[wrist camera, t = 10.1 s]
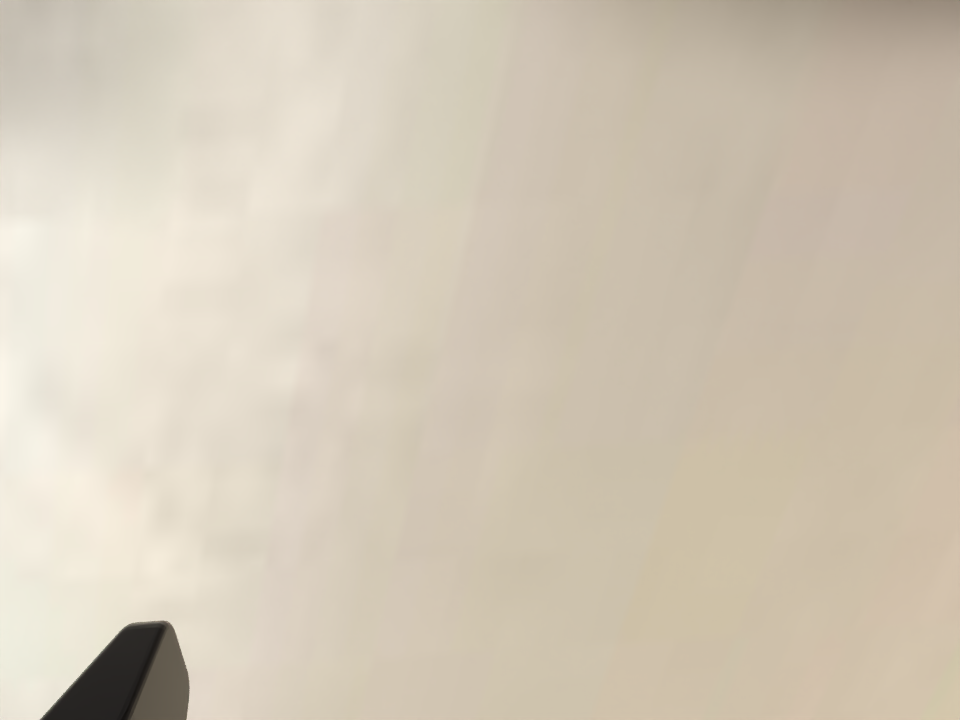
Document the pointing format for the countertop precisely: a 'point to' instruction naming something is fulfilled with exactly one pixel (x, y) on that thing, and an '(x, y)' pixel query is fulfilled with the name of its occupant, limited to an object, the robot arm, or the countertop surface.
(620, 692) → the countertop surface
